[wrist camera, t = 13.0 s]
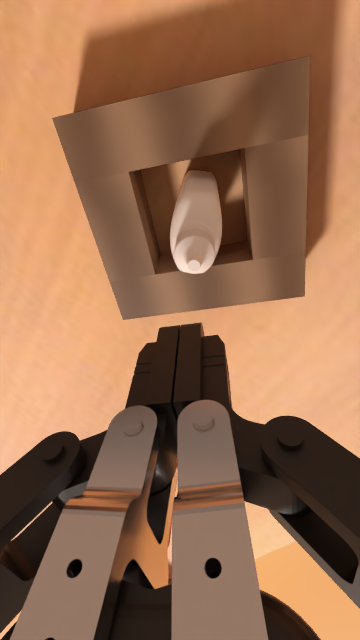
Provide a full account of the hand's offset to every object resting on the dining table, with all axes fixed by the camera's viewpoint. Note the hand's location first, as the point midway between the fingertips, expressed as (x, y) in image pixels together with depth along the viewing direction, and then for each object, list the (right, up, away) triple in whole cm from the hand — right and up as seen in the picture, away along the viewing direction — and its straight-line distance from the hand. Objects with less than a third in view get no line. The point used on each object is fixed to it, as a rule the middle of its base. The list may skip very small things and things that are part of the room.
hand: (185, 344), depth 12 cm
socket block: (+1, +11, +16) cm, 19 cm away
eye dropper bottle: (+1, +11, +16) cm, 19 cm away
